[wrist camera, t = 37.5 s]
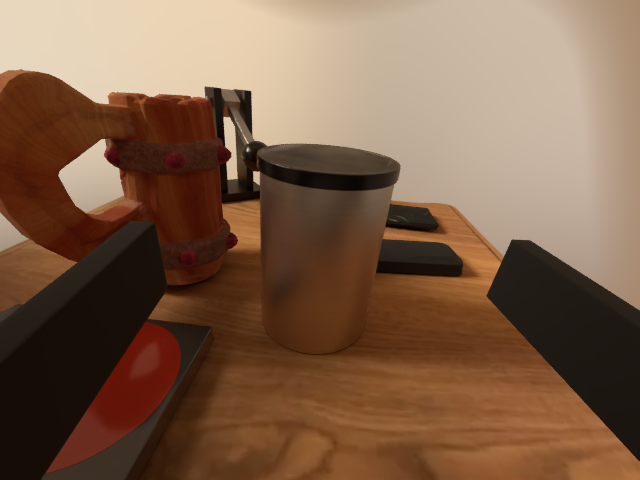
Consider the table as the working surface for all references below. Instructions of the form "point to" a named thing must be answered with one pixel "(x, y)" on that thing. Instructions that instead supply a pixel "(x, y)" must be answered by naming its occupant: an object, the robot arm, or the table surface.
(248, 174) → the switch
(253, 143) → the lever
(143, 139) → the mug
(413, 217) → the smartphone
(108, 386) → the hob
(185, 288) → the table surface
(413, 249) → the remote control
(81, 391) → the robot arm
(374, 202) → the lidded metal tumbler
